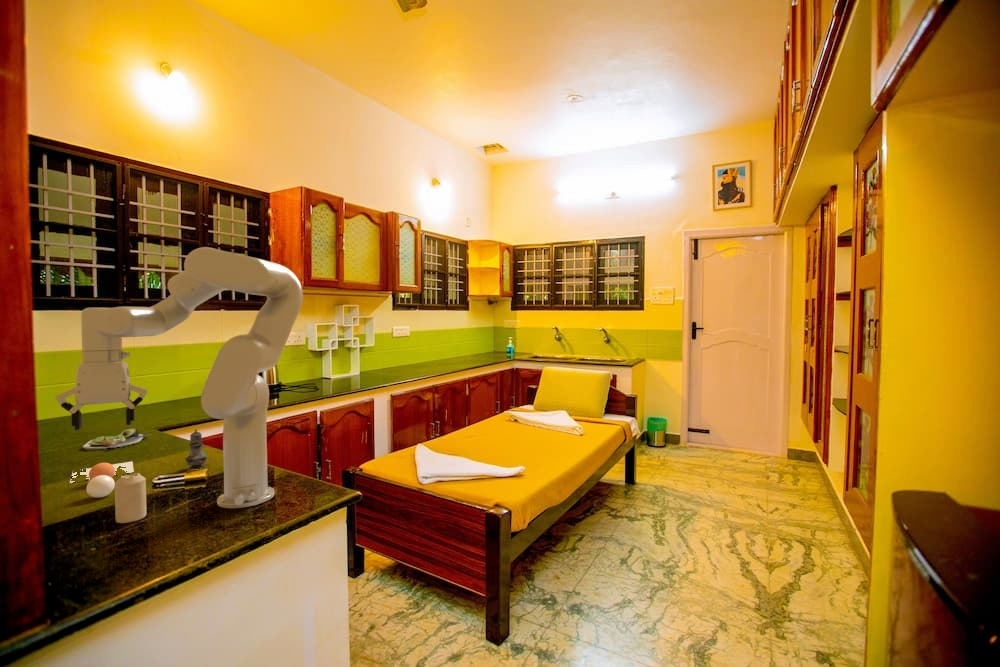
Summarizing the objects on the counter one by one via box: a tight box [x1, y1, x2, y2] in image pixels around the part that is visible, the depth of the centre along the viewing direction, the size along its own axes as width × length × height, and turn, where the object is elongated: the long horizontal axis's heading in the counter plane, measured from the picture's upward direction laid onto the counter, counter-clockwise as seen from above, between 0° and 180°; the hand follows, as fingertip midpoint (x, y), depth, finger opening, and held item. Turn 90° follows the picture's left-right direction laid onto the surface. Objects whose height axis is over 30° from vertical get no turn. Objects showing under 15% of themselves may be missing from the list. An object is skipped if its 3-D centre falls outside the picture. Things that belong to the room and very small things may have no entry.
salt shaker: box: [184, 429, 208, 471], centre depth 141 cm, size 6×6×12 cm
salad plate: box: [82, 427, 150, 451], centre depth 170 cm, size 19×18×5 cm
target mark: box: [69, 460, 135, 484], centre depth 138 cm, size 14×14×1 cm
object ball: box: [89, 462, 115, 479], centre depth 129 cm, size 6×6×6 cm
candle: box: [114, 472, 147, 524], centre depth 105 cm, size 6×6×10 cm
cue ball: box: [85, 475, 116, 499], centre depth 118 cm, size 6×6×6 cm
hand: (104, 426), depth 114 cm, fingers open, 9 cm apart
